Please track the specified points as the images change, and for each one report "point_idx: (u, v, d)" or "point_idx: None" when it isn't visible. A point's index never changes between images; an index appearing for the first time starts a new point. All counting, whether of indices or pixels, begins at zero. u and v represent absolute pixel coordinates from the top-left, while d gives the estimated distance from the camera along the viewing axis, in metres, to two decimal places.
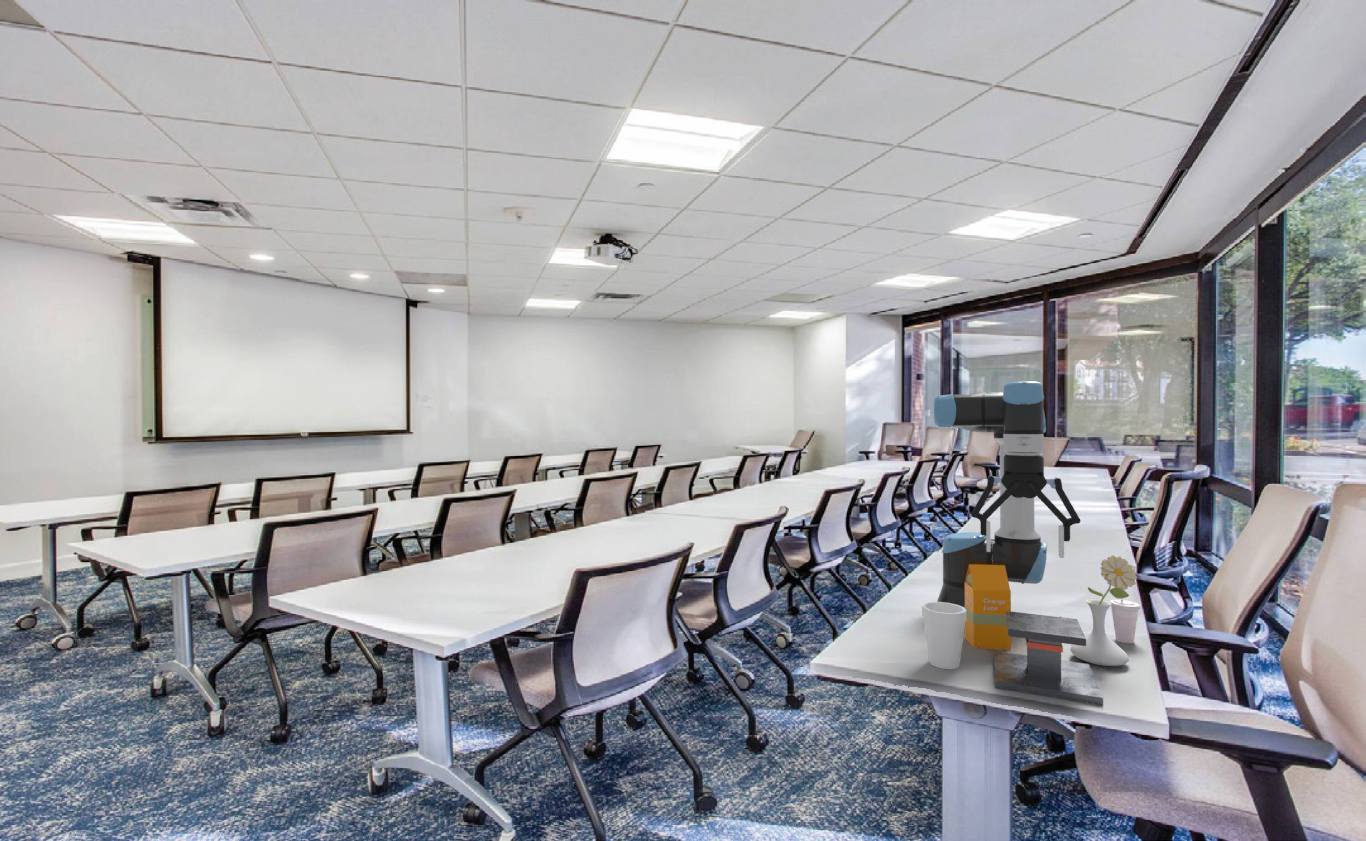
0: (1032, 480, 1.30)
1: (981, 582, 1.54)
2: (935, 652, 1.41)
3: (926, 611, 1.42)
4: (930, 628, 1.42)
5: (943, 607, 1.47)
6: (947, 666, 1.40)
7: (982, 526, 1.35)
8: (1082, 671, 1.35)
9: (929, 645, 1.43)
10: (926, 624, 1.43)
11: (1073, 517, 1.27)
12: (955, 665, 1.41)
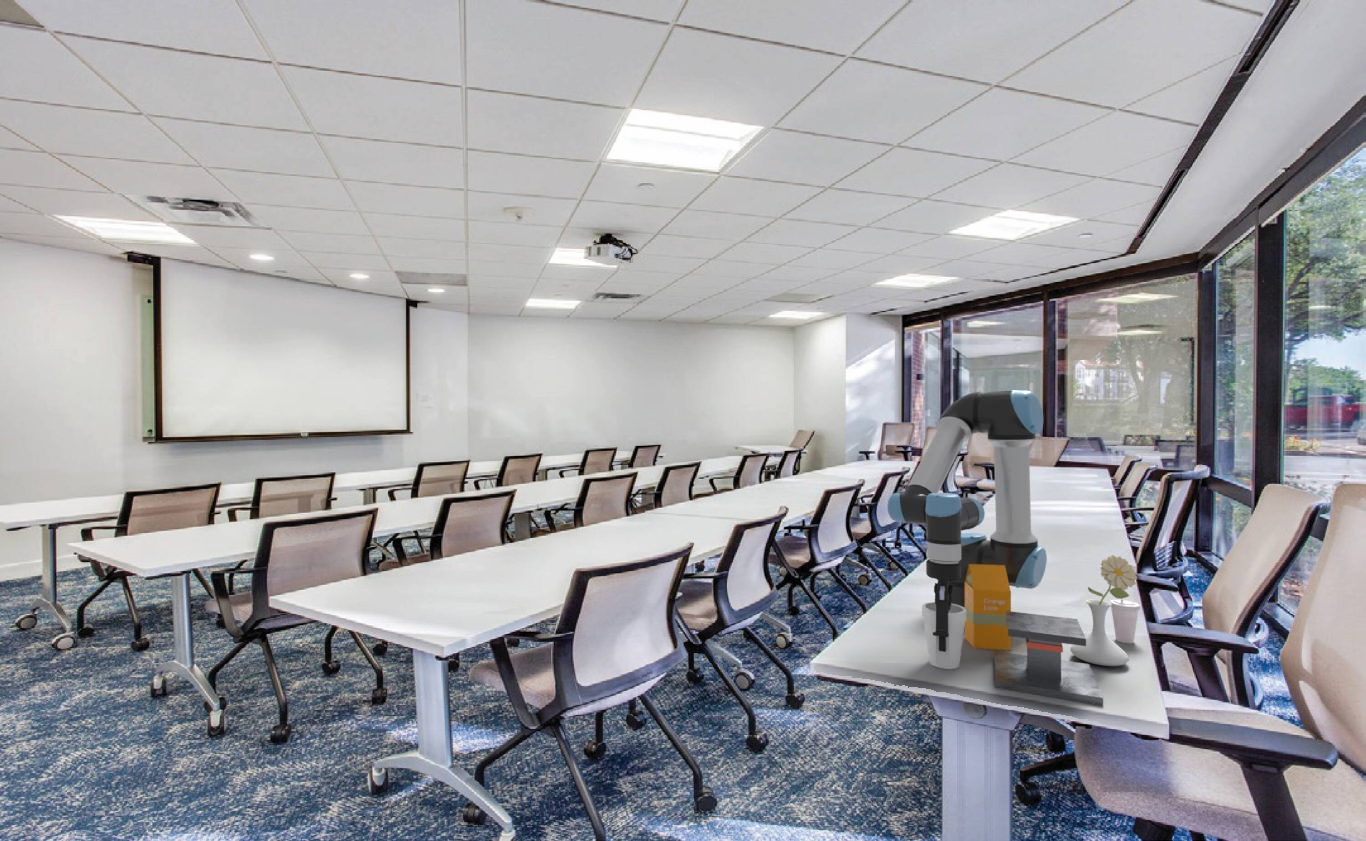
0: None
1: (981, 582, 1.54)
2: (935, 652, 1.41)
3: (926, 611, 1.42)
4: (930, 628, 1.42)
5: None
6: (947, 666, 1.40)
7: None
8: (1082, 671, 1.35)
9: (929, 645, 1.43)
10: (926, 623, 1.43)
11: None
12: (955, 665, 1.41)
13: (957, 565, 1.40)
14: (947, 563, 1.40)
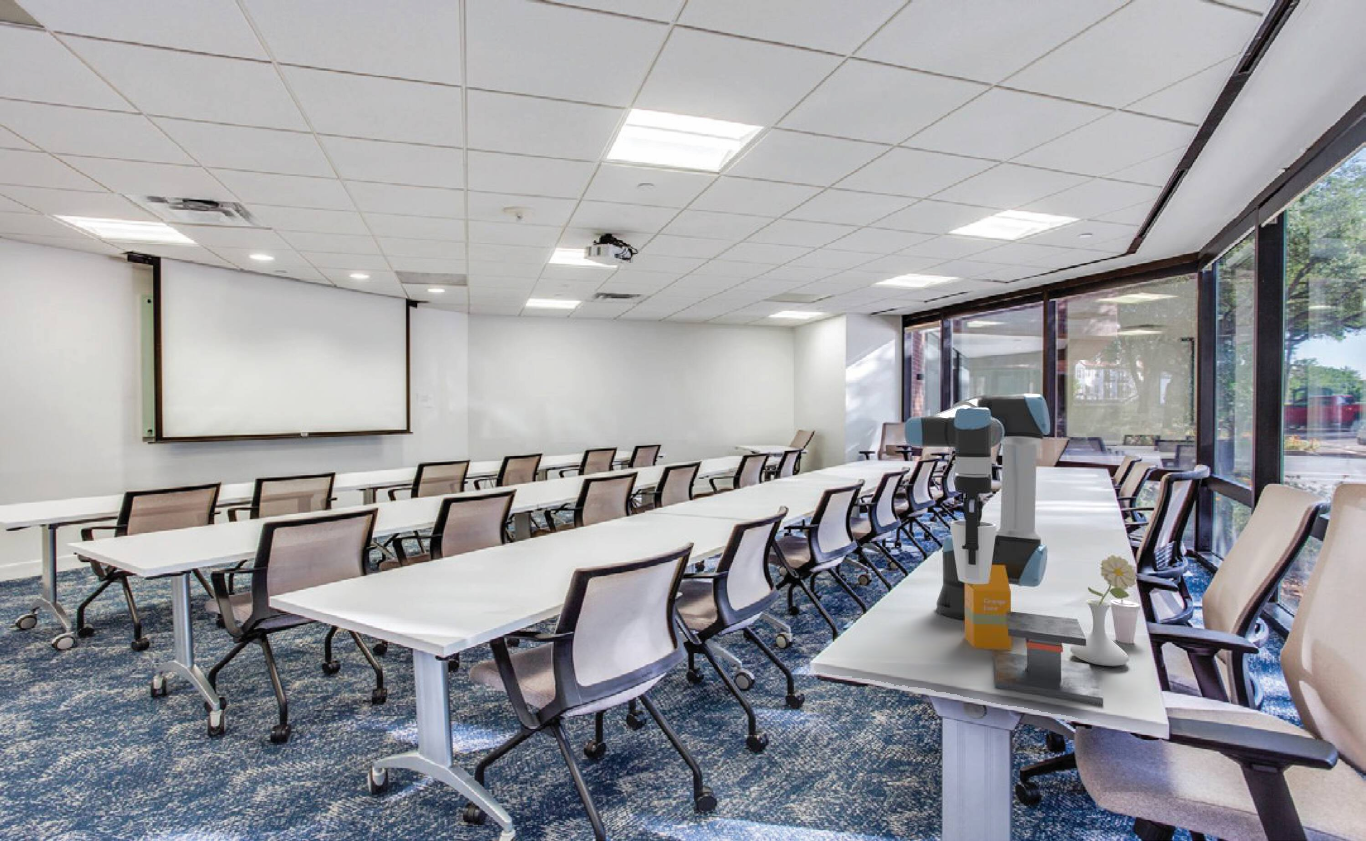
0: None
1: None
2: (964, 567, 1.39)
3: (955, 526, 1.40)
4: (959, 543, 1.39)
5: None
6: (976, 581, 1.38)
7: None
8: (1082, 671, 1.35)
9: (958, 561, 1.40)
10: (954, 539, 1.40)
11: None
12: (985, 580, 1.38)
13: (987, 478, 1.38)
14: (977, 476, 1.38)
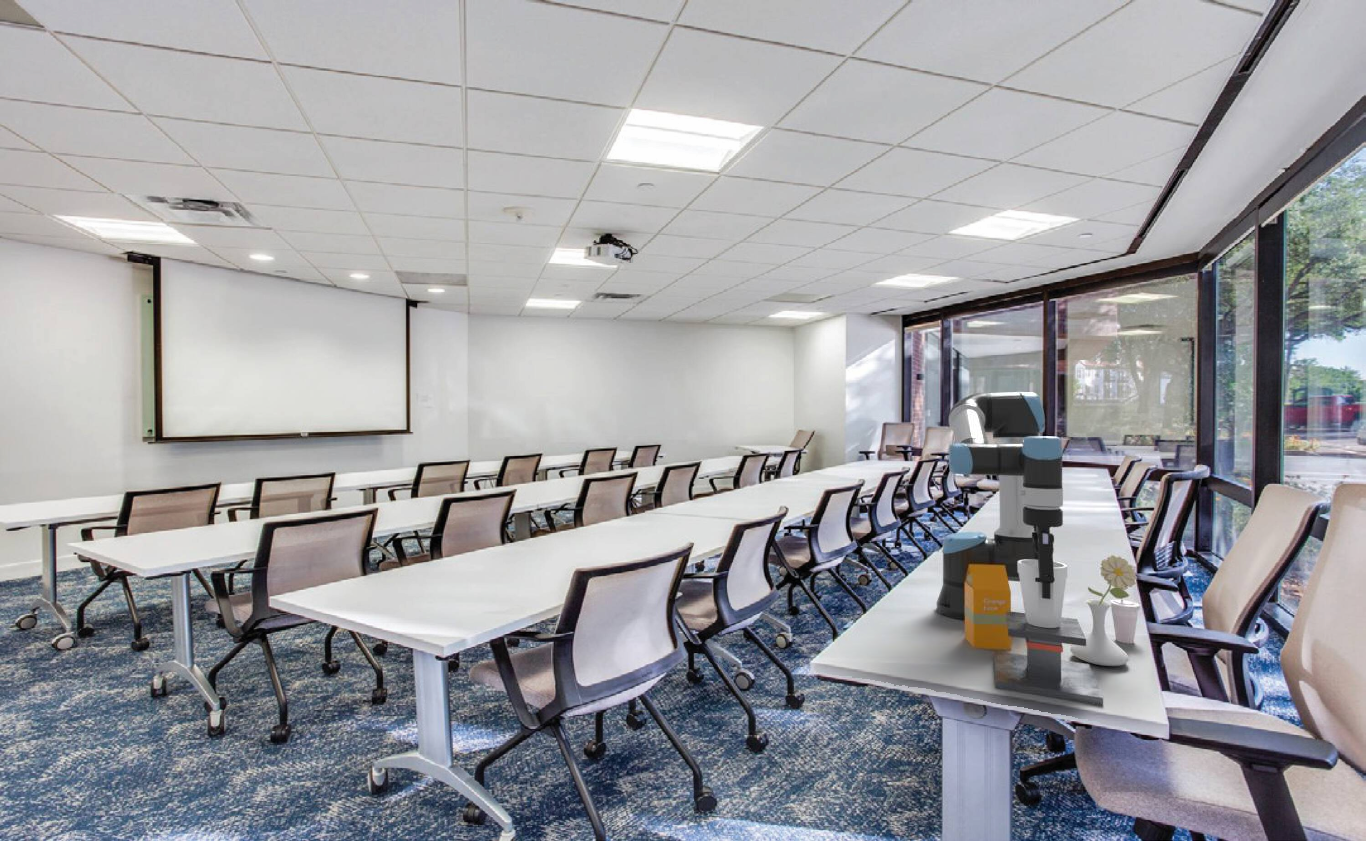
0: (1037, 532, 1.34)
1: (981, 582, 1.54)
2: (1034, 610, 1.33)
3: (1024, 567, 1.34)
4: (1029, 585, 1.33)
5: None
6: (1048, 625, 1.32)
7: None
8: (1082, 671, 1.35)
9: (1027, 603, 1.34)
10: (1023, 580, 1.34)
11: (1039, 574, 1.27)
12: (1057, 624, 1.32)
13: (1059, 511, 1.32)
14: (1049, 509, 1.32)
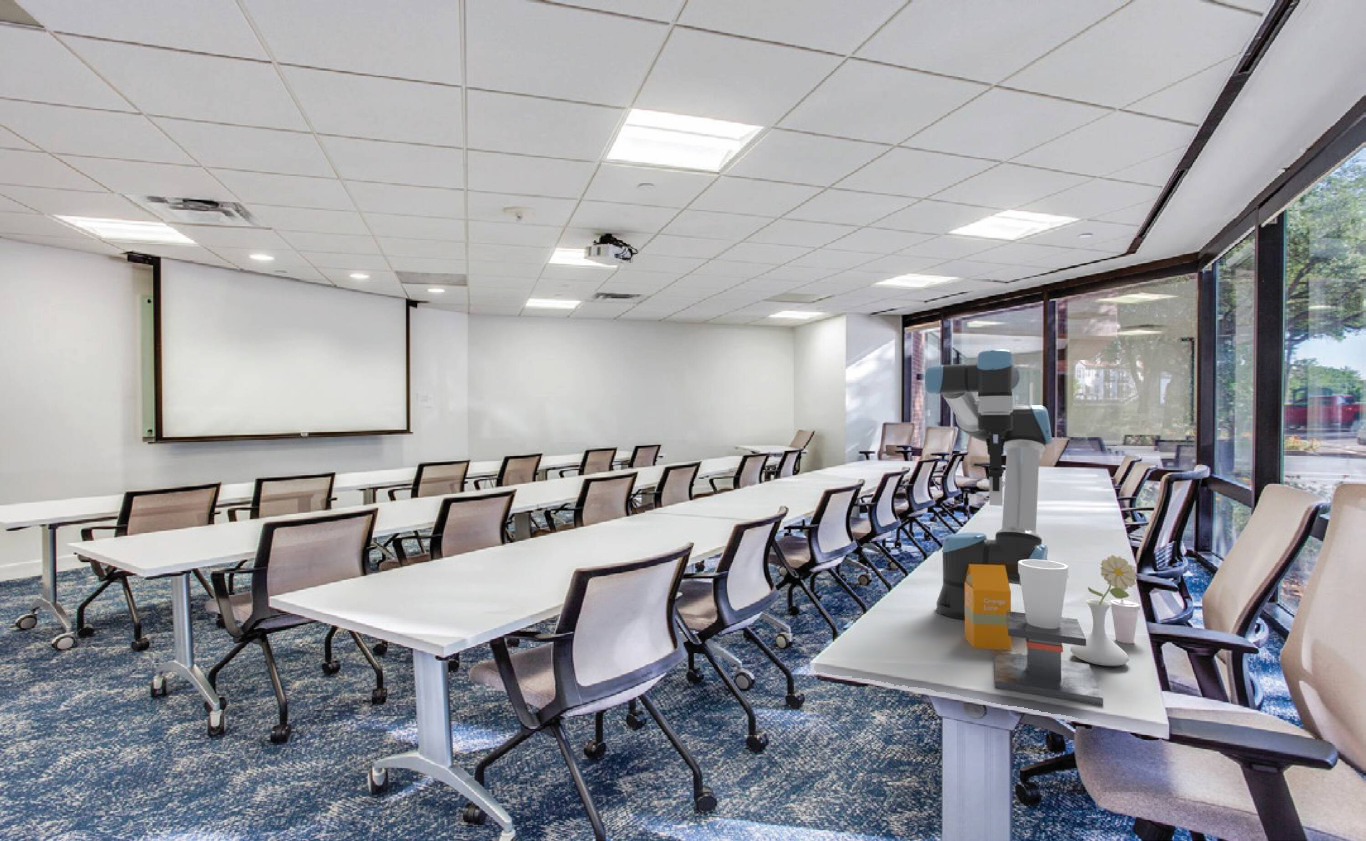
0: None
1: (981, 582, 1.54)
2: (1035, 611, 1.33)
3: (1025, 567, 1.34)
4: (1029, 585, 1.33)
5: (1040, 565, 1.38)
6: (1048, 625, 1.32)
7: None
8: (1082, 671, 1.35)
9: (1027, 604, 1.34)
10: (1024, 581, 1.34)
11: (990, 469, 1.42)
12: (1057, 624, 1.32)
13: (1009, 416, 1.47)
14: (999, 414, 1.46)
